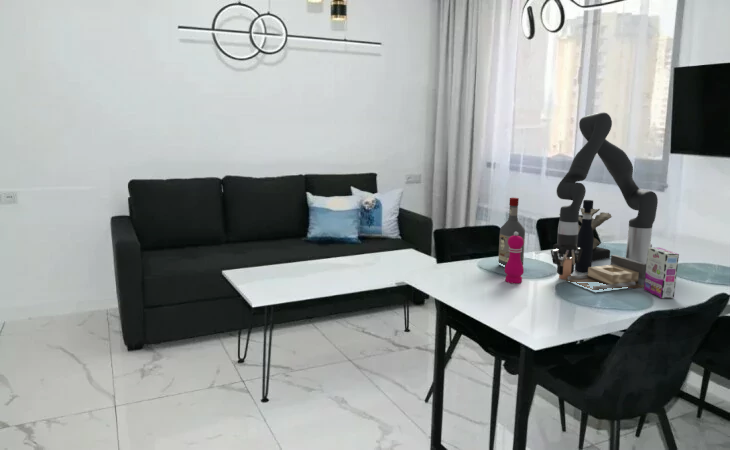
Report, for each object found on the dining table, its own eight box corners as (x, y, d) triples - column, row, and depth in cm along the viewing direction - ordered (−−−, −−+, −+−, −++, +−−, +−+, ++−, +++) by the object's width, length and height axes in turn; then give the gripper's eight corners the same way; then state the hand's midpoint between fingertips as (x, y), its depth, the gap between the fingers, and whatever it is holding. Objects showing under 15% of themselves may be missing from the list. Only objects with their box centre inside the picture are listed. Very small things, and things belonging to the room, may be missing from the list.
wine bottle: (592, 273, 224) (598, 201, 219) (576, 272, 226) (581, 201, 220) (589, 269, 231) (595, 199, 225) (573, 268, 232) (578, 199, 226)
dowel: (565, 276, 220) (567, 257, 218) (573, 279, 216) (574, 259, 214) (556, 277, 218) (558, 258, 217) (563, 280, 214) (565, 260, 213)
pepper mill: (512, 284, 208) (515, 234, 204) (500, 280, 214) (502, 230, 210) (527, 282, 211) (530, 232, 207) (514, 277, 217) (516, 229, 214)
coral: (547, 250, 266) (550, 207, 262) (576, 246, 275) (579, 204, 271) (589, 261, 244) (593, 214, 240) (619, 256, 253) (623, 211, 249)
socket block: (612, 274, 217) (613, 264, 217) (637, 283, 206) (638, 272, 205) (587, 277, 213) (588, 267, 213) (611, 286, 202) (612, 275, 201)
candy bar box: (675, 298, 191) (680, 253, 188) (661, 299, 191) (666, 254, 188) (655, 289, 202) (660, 246, 199) (643, 289, 202) (647, 247, 199)
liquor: (513, 262, 241) (517, 196, 235) (525, 268, 232) (529, 199, 227) (495, 264, 238) (499, 197, 232) (507, 269, 229) (511, 200, 224)
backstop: (613, 276, 220) (615, 254, 218) (645, 287, 205) (647, 264, 203) (565, 281, 212) (567, 259, 211) (594, 293, 197) (596, 269, 196)
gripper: (576, 229, 219) (573, 270, 222) (546, 231, 215) (544, 273, 218) (589, 232, 212) (586, 274, 215) (559, 235, 208) (556, 278, 211)
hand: (565, 273), depth 217 cm, fingers closed on dowel, 4 cm apart
